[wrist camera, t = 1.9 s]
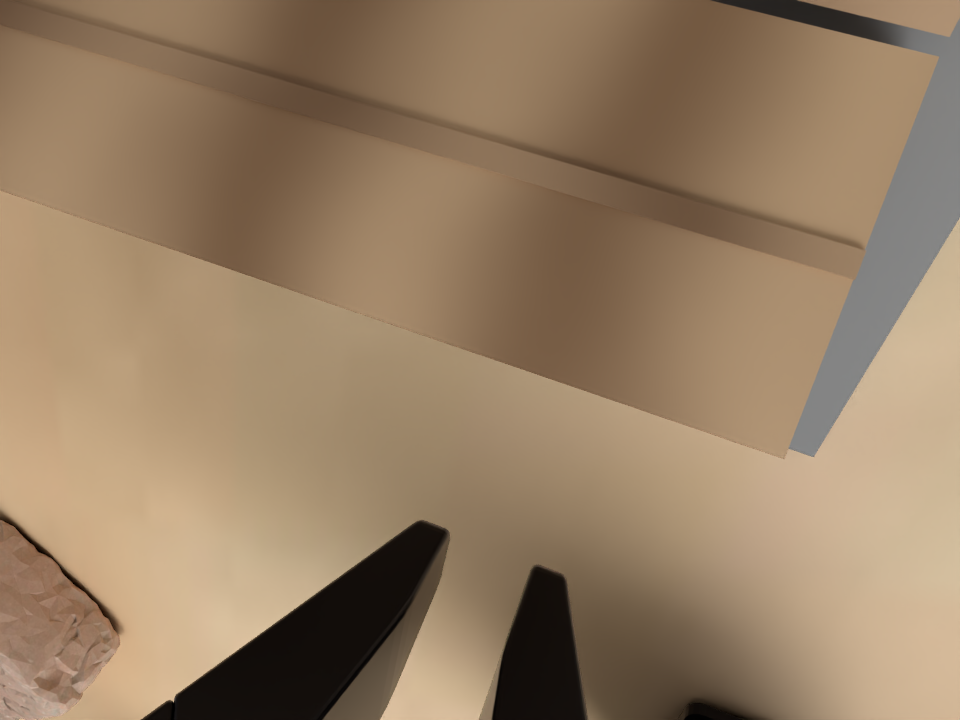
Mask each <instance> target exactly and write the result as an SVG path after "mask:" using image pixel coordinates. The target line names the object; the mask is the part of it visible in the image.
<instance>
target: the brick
mask: <svg viewBox="0 0 960 720" xmlns="http://www.w3.org/2000/svg"><path fill="white" fill-rule="evenodd" d="M119 645H120V639H119V635H118V634H117V633H116V632H115V630H114V629H113V627H112V625H111V623H110V621H109V619H108V618H106V617H104V616H103V614H102V612H101V611H100V609H99V607H98V605H97V604H96V603H95V602H94V601H92V600H91V599H90V598H89V597H88V596H87V594H86V593H85V592H84V591H82V590H81V589H79V588H77V587H76V586H75V585H74V584H73V583H72V582H71V581H70V580H69V579H68V578H66V577H65V576H64V575H63V574H62V572H61V570H60V567H59V565H58V564H57V563H56V562H55V561H54V560H53V559H52V558H50V557H48V556H46V555H44V554H42V553H39V552H38V551H37V550H36V548H35V547H34V545H32V544H31V543H29V542H28V541H27V540H26V539H25V538H24V537H23V536H22V535H21V534H20V533H19V532H18V531H17V530H16V528H15V527H14V526H11V525H9V524H7V523H6V522H4V521H2V520H0V720H18V719H20V718H23V719H25V720H35V719H37V720H40V719H42V718H51V717H55V716H61V715H62V714H64V713H65V712H67V711H68V710H69V709H71V708H72V707H73V706H74V705H75V704H76V703H77V702H78V701H79V700H80V699H81V697H82V693H83V691H84V690H85V689H86V688H87V687H88V686H89V685H90V684H92V683H93V681H94V680H95V678H96V677H97V675H98V674H99V672H100V671H101V669H102V667H104V666H105V665H106V664H107V663H108V662H109V660H110V659H111V657H112V656H113V655H114V653H115V652H116V650H117V648H118V647H119Z"/></svg>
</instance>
